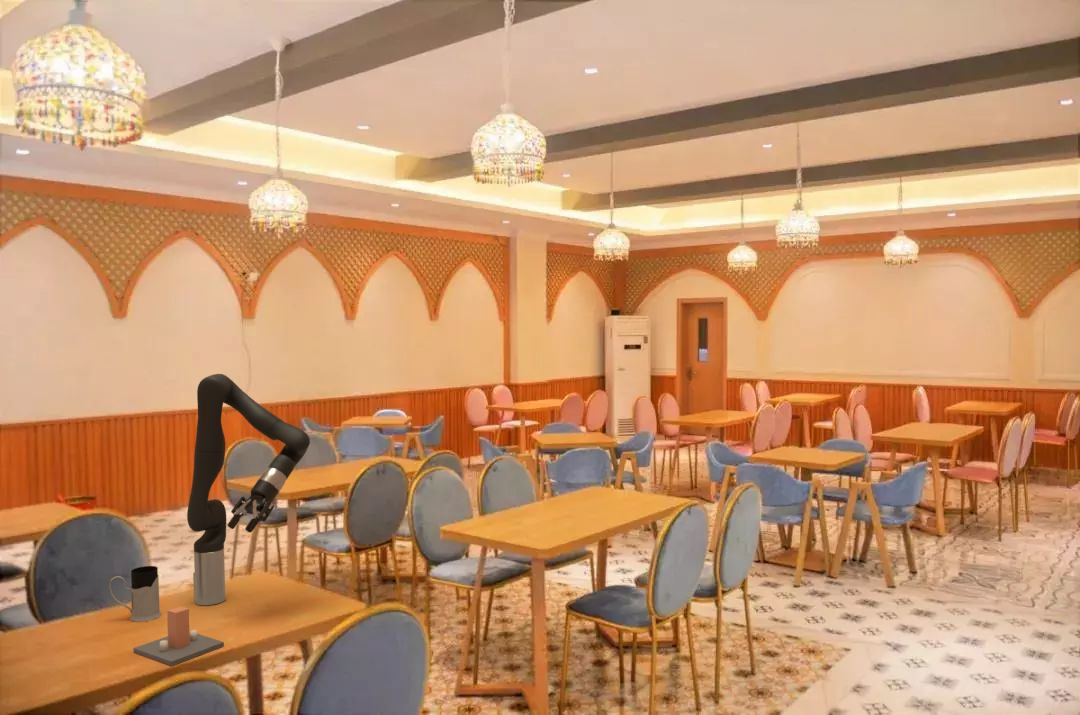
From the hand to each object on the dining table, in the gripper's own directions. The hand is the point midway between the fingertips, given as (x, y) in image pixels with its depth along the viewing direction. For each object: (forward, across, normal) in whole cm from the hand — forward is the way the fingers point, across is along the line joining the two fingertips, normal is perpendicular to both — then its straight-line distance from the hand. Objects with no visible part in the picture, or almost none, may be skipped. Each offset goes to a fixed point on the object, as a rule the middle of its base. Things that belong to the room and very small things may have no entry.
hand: (238, 529), depth 250 cm
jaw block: (+35, +3, +3) cm, 36 cm away
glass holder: (+31, -32, +10) cm, 46 cm away
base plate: (+36, +3, +4) cm, 37 cm away
